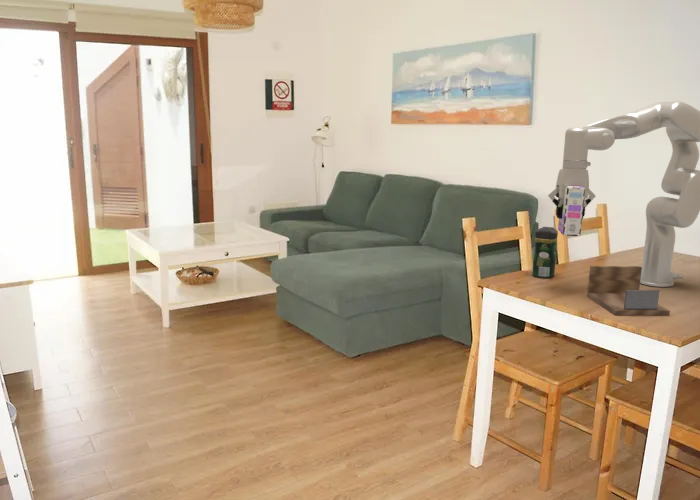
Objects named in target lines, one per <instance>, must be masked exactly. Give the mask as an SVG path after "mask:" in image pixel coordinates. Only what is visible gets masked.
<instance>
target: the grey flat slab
mask: <svg viewBox="0 0 700 500" xmlns="http://www.w3.org/2000/svg"><path fill="white" fill-rule="evenodd" d="M659 297H660V290H658V289H639V290H626V295H625V303H624V309H625V310H657V307H658V304H659Z"/></svg>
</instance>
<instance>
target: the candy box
mask: <svg viewBox="0 0 700 500" xmlns="http://www.w3.org/2000/svg"><path fill="white" fill-rule="evenodd" d="M584 194H585V188H584V187H582V186H566V188H565V195H564V201H563V204H562V207H563V213H562V219H559V218H558V225H557V231H559V232H560V233H561V235H562V236H565V237H581V236H582V235H581V233H582V223H583V219H582V213H583V204H584Z"/></svg>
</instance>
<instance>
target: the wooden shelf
mask: <svg viewBox="0 0 700 500" xmlns="http://www.w3.org/2000/svg"><path fill="white" fill-rule="evenodd" d="M641 271H642V265H641V266H640V265H590V266H589V273H588V284H587V293H586V296H587V297H588V298H589V299H591V300H592V301H593V302H594V303H597V304H598V305H600V306H601V307H602V308H603V309H605V310H607V311H608V312H609V313H611V314H612V315H614V316H670V314H671V310H669V309H668V308H666V307H664V306H663V305H661V304H660V303H658V307H657V310H625V309H624V303H625V295H626V290H640V288H641V287H640V285H641V283H640V279H641Z"/></svg>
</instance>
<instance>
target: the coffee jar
mask: <svg viewBox="0 0 700 500" xmlns="http://www.w3.org/2000/svg"><path fill="white" fill-rule="evenodd" d="M558 231H559V230H558V229H556V228H555V227H553V226H552V227H551V226H542V227H540V228H537V229H536V230H535V234H534V236H535V237H534V247H533V249H534V250H533V260H532V261H533V262H532V276H533V277H538V278H541V279H546V278H548V279H550V278H552V277H553V276H554V275H555V271H556V259H557V248H558V247H557V245H558V234H559V232H558Z"/></svg>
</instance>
